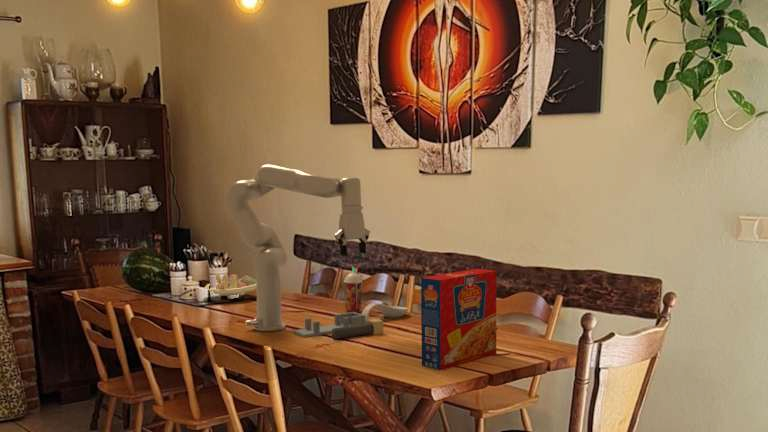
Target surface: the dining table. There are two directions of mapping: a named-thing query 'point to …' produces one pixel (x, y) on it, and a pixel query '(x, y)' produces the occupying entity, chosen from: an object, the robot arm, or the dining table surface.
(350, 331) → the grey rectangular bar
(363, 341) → the dining table surface
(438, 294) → the pasta box
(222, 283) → the dish with food
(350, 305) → the smoothie
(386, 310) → the spoon rest
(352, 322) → the clip rail
